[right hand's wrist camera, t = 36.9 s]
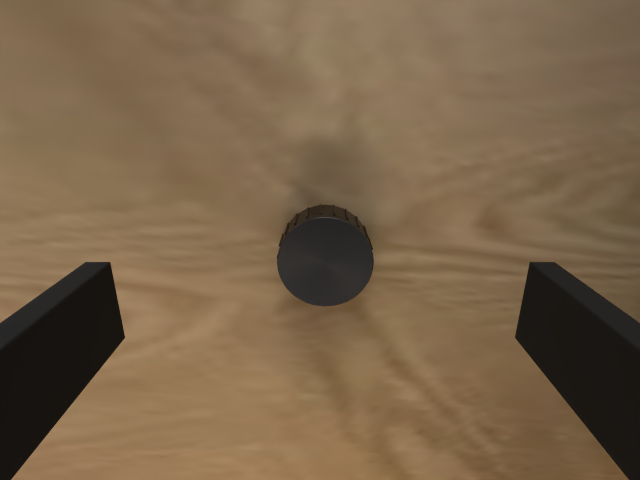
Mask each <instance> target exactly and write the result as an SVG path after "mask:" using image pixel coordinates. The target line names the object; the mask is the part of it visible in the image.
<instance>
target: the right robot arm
mask: <svg viewBox="0 0 640 480" xmlns="http://www.w3.org/2000/svg"><path fill="white" fill-rule="evenodd" d="M124 338H125V336H124V330H123V325H122V320H121V315H120V310H119V305H118V300H117V295H116V290H115V285H114V279H113V274H112V269H111V264H110V262H85V263H84V264H82V265H81V266H80V267H78V268H77V269H75V270H74V271H73V272H71V273H70V274H68V275H67V276H66V277H64V278H63V279H61V280H60V281H59V282H57V283H56V284H54V285H53V286H52V287H50V288H49V289H47V290H46V291H45V292H43V293H42V294H40V295H39V296H38V297H36V298H35V299H33V300H32V301H31V302H29V303H28V304H26V305H25V306H24V307H22V308H21V309H19V310H18V311H17V312H15V313H14V314H12V315H11V316H10V317H8V318H7V319H5V320H4V321H3V322H1V323H0V480H11V479H12V478H13V476H14V475H15V474H16V473H17V471H18V470H19V469H20V468H21V466H22V465H23V464H24V463H25V461H26V460H27V459H28V458H29V456H30V455H31V454H32V453H33V452H34V450H35V449H36V448H37V447H38V445H39V444H40V443H41V442H42V440H43V439H44V438H45V437H46V435H47V434H48V433H49V432H50V430H51V429H52V428H53V427H54V425H55V424H56V423H57V422H58V420H59V419H60V418H61V417H62V415H63V414H64V413H65V412H66V410H67V409H68V408H69V407H70V405H71V404H72V403H73V402H74V400H75V399H76V398H77V397H78V395H79V394H80V393H81V392H82V390H83V389H84V388H85V387H86V385H87V384H88V383H89V382H90V381H91V379H92V378H93V377H94V376H95V374H96V373H97V372H98V371H99V369H100V368H101V367H102V366H103V364H104V363H105V362H106V361H107V359H108V358H109V357H110V356H111V354H112V353H113V352H114V351H115V349H116V348H117V347H118V346H119V344H120V343H121V342H122V341H123V339H124ZM515 338H516V339H517V341H518V342H519V343H520V344H521V346H522V347H523V348H524V349H525V351H526V352H527V353H528V354H529V356H530V357H531V358H532V359H533V361H534V362H535V363H536V364H537V366H538V367H539V368H540V369H541V371H542V372H543V373H544V374H545V376H546V377H547V378H548V379H549V381H550V382H551V383H552V384H553V385H554V387H555V388H556V389H557V390H558V392H559V393H560V394H561V395H562V397H563V398H564V399H565V400H566V402H567V403H568V404H569V405H570V407H571V408H572V409H573V410H574V412H575V413H576V414H577V415H578V417H579V418H580V419H581V420H582V422H583V423H584V424H585V425H586V427H587V428H588V429H589V430H590V432H591V433H592V434H593V435H594V437H595V438H596V439H597V440H598V442H599V443H600V444H601V445H602V447H603V448H604V449H605V450H606V452H607V453H608V454H609V455H610V457H611V458H612V459H613V460H614V461H615V463H616V464H617V465H618V466H619V468H620V469H621V470H622V471H623V473H624V474H625V475H626V476H627V478H628V479H629V480H640V323H639V322H637V321H636V320H635V319H633V318H632V317H630V316H629V315H628V314H626V313H625V312H623V311H622V310H621V309H619V308H618V307H616V306H615V305H614V304H612V303H611V302H609V301H608V300H607V299H605V298H604V297H602V296H601V295H600V294H598V293H597V292H595V291H594V290H593V289H591V288H590V287H588V286H587V285H586V284H584V283H583V282H581V281H580V280H579V279H577V278H576V277H574V276H573V275H572V274H570V273H569V272H567V271H566V270H565V269H563V268H562V267H560V266H559V265H558V264H556V263H555V262H530V264H529V269H528V274H527V279H526V285H525V290H524V295H523V300H522V305H521V310H520V315H519V320H518V325H517V330H516V336H515Z"/></svg>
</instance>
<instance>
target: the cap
mask: <svg viewBox="0 0 640 480" xmlns="http://www.w3.org/2000/svg"><path fill="white" fill-rule="evenodd" d="M279 246H280V248H279V252H278V255H277V264H278V271H279V275H280V277H281V280H282V282H283V283H284V285H285V286H286V288H287V289H288V290H289V291H290V292H291V293H292V294H293V295H294V296H296V297H297V298H299V299H300V300H302V301H304V302H306V303H309V304H312V305H317V306H333V305H338V304H342V303H344V302H347V301H349V300H351V299H352V298H354V297H355V296H356V295H358V294H359V293H360V292H361V291H362V290H363V289H364V287H365V286H366V285H367V283H368V281H369V279H370V277H371V274H372V270H373V262H374V261H373V253H372V250H373V248H372V245H371V242H370V239H369V237H368V235H367V232H366V229H365V226H363V225H362V224H361V222H360V221H359V220H358V218H357V216H354V215H353V214H351V213H350V212H348V211H347V209H342V208H339V207H336V206H335V205H333V206H330V205H320V206H314V207H311V208H309V207H308V208H307V209H306V210H304V211H302V212H301V213H299V214H296V216H295V217H294V218H293V219H292V221H291V222H290V223H288V224H287V227H286V230H285V232H284V234H282V237H281V240H280V244H279Z"/></svg>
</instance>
